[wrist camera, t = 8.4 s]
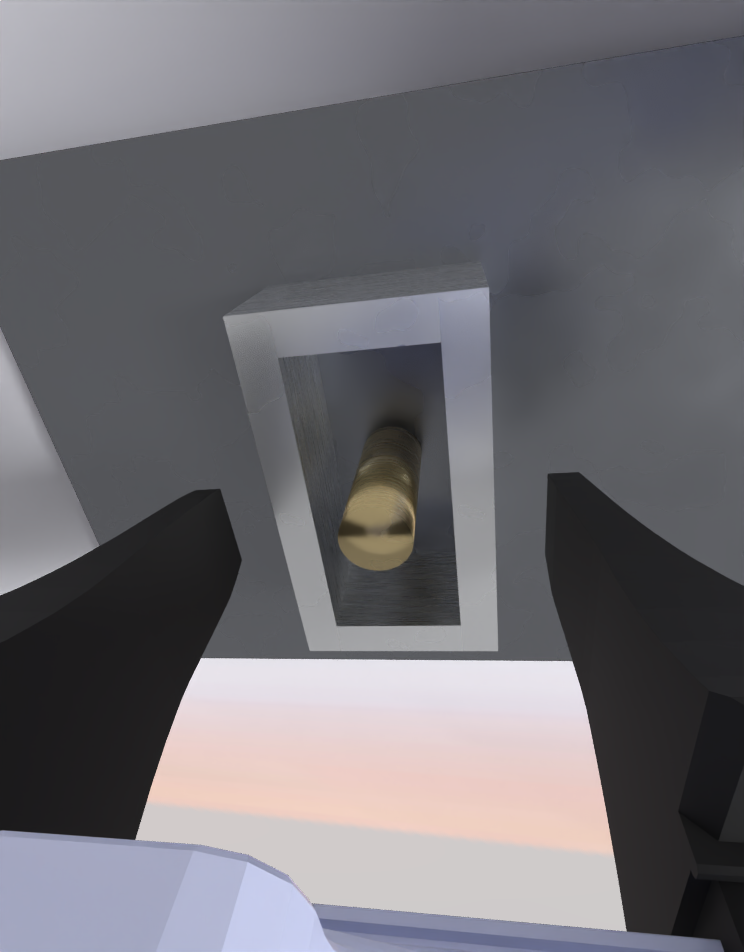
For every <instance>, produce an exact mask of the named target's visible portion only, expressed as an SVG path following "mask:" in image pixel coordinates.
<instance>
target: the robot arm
mask: <svg viewBox="0 0 744 952" xmlns="http://www.w3.org/2000/svg"><path fill="white" fill-rule="evenodd" d="M545 557H546V563H547V569H548V575H549V581H550V586H551V592H552V596H553V600H554V603H555V606H556V609H557V613H558V616H559V619H560V622H561V626H562V629H563V632H564V635H565V639H566V642H567V645H568V648H569V651H570V654H571V658H572V661H573V664H574V667H575V670H576V674H577V677H578V680H579V683H580V686H581V690H582V694H583V698H584V701H585V705H586V709H587V714H588V719H589V724H590V729H591V734H592V739H593V744H594V749H595V754H596V759H597V764H598V769H599V775H600V780H601V785H602V790H603V796H604V801H605V806H606V812H607V817H608V823H609V829H610V834H611V840H612V846H613V852H614V857H615V863H616V868H617V874H618V880H619V886H620V893H621V899H622V905H623V910H624V917H625V923H626V929H627V932H625V931H613V930H603V929H592V928H581V927H570V926H569V927H568V926H557V925H547V924H536V923H525V922H513V921H503V920H491V919H480V918H469V917H458V916H447V915H436V914H424V913H413V912H402V911H391V910H380V909H369V908H357V907H346V906H335V905H324V904H313V903H311V902H310V901H309V899H308V898H307V896H306V895H305V894H304V893H303V892H302V891H301V890H300V888H299V887H298V886H297V885H296V884H295V883H294V881H293V880H292V879H291V878H290V877H289V876H288V875H287V874H285V873H283V872H281V871H279V870H277V869H275V868H273V867H271V866H269V865H267V864H265V863H263V862H261V861H259V860H257V859H255V858H253V857H251V856H249V855H246V854H242V853H237V852H232V851H228V850H223V849H218V848H213V847H209V846H204V845H195V844H181V843H168V842H155V841H141V840H135V839H136V835H137V832H138V829H139V825H140V822H141V818H142V815H143V812H144V808H145V805H146V802H147V798H148V795H149V791H150V788H151V785H152V782H153V779H154V776H155V773H156V770H157V767H158V764H159V761H160V758H161V755H162V752H163V749H164V746H165V743H166V740H167V737H168V735H169V732H170V729H171V726H172V724H173V721H174V718H175V715H176V713H177V710H178V707H179V705H180V702H181V699H182V697H183V695H184V692H185V690H186V688H187V686H188V683H189V681H190V679H191V677H192V675H193V673H194V671H195V669H196V667H197V665H198V663H199V661H200V659H201V657H202V655H203V653H204V651H205V649H206V647H207V645H208V643H209V641H210V639H211V637H212V635H213V633H214V631H215V629H216V627H217V625H218V622H219V620H220V618H221V616H222V614H223V612H224V610H225V608H226V606H227V604H228V602H229V599H230V597H231V594H232V591H233V588H234V585H235V582H236V579H237V576H238V572H239V569H240V566H241V562H242V558H241V555H240V552H239V548H238V545H237V542H236V538H235V535H234V532H233V529H232V525H231V522H230V519H229V516H228V512H227V509H226V506H225V502H224V499H223V496H222V493H221V489H207V490H195V491H193V492H190V493H188V494H186V495H184V496H182V497H181V498H179V499H177V500H175V501H174V502H172V503H170V504H168V505H167V506H165V507H163V508H162V509H160V510H159V511H157V512H155V513H154V514H152V515H150V516H149V517H147V518H146V519H144V520H142V521H141V522H139V523H137V524H136V525H134V526H133V527H131V528H129V529H128V530H126V531H125V532H123V533H121V534H120V535H118V536H116V537H115V538H113V539H111V540H109V541H108V542H106V543H104V544H102V545H101V546H99V547H97V548H95V549H94V550H92V551H90V552H89V553H87V554H85V555H83V556H82V557H80V558H78V559H76V560H74V561H73V562H71V563H69V564H67V565H65V566H63V567H61V568H59V569H57V570H55V571H53V572H51V573H49V574H47V575H45V576H43V577H41V578H39V579H37V580H35V581H33V582H31V583H28V584H26V585H24V586H22V587H20V588H17V589H15V590H13V591H10V592H8V593H5V594H3V595H1V596H0V952H744V586H743V585H741V584H739V583H737V582H735V581H733V580H731V579H729V578H728V577H726V576H724V575H722V574H720V573H719V572H717V571H715V570H713V569H712V568H710V567H708V566H706V565H704V564H703V563H701V562H699V561H697V560H696V559H694V558H692V557H691V556H689V555H687V554H686V553H684V552H683V551H681V550H679V549H678V548H676V547H675V546H673V545H672V544H670V543H669V542H667V541H666V540H665V539H663V538H662V537H660V536H659V535H657V534H656V533H654V532H653V531H651V530H650V529H649V528H647V527H646V526H645V525H643V524H642V523H641V522H639V521H638V520H637V519H635V518H634V517H633V516H631V515H630V514H629V513H628V512H626V511H625V510H624V509H622V508H621V507H620V506H619V505H618V504H616V503H615V502H614V501H613V500H611V499H610V498H609V497H608V496H607V495H605V494H604V493H603V492H602V491H601V490H600V489H598V488H597V487H596V486H595V485H594V484H593V483H591V482H590V481H589V480H588V479H587V478H586V477H584V476H583V475H582V474H581V473H579V472H570V473H548V480H547V508H546V536H545Z"/></svg>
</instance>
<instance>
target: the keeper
mask: <svg viewBox="0 0 744 952" xmlns="http://www.w3.org/2000/svg"><path fill="white" fill-rule="evenodd" d="M477 261H480V262H481V265H482V268H483V271H484V274H485V277H486V280H487V283H488V286H489V308H490V347H491V386H492V426H493V465H494V505H495V544H496V583H497V623H498V651H310V650H309V646H308V642H307V639H306V635H305V631H304V627H303V623H302V619H301V615H300V612H299V608H298V604H297V600H296V596H295V592H294V589H293V585H292V581H291V577H290V573H289V569H288V565H287V562H286V558H285V554H284V550H283V546H282V542H281V538H280V535H279V531H278V527H277V523H276V519H275V515H274V512H273V508H272V504H271V500H270V496H269V492H268V488H267V485H266V481H265V477H264V473H263V469H262V465H261V462H260V458H259V454H258V450H257V446H256V442H255V438H254V435H253V431H252V427H251V423H250V419H249V415H248V411H247V408H246V404H245V400H244V396H243V392H242V388H241V385H240V381H239V377H238V373H237V369H236V365H235V361H234V358H233V354H232V350H231V346H230V342H229V338H228V335H227V331H226V327H225V323H224V319H223V316H224V315H226V314H227V313H229V312H230V311H232V310H233V309H235V308H236V307H238V306H239V305H241V304H242V303H244V302H245V301H247V300H248V299H250V298H251V297H253V296H254V295H256V294H257V293H259V292H260V291H262V290H263V289H265V288H266V287H268V286H275V285H283V284H292V283H300V282H309V281H317V280H326V279H334V278H342V277H351V276H359V275H368V274H376V273H384V272H393V271H401V270H410V269H418V268H427V267H435V266H443V265H452V264H460V263H469V262H477ZM0 327H1V329H2V331H3V333H4V336H5V338H6V340H7V342H8V344H9V347H10V349H11V351H12V353H13V356H14V358H15V360H16V362H17V364H18V367H19V369H20V371H21V373H22V375H23V378H24V380H25V382H26V384H27V386H28V389H29V391H30V393H31V395H32V397H33V400H34V402H35V404H36V406H37V408H38V411H39V413H40V415H41V417H42V419H43V422H44V424H45V426H46V428H47V430H48V433H49V435H50V437H51V439H52V441H53V444H54V446H55V448H56V450H57V452H58V455H59V457H60V459H61V461H62V463H63V466H64V468H65V470H66V472H67V474H68V477H69V479H70V481H71V483H72V485H73V488H74V490H75V492H76V494H77V496H78V499H79V501H80V503H81V505H82V507H83V510H84V512H85V514H86V516H87V518H88V521H89V523H90V525H91V527H92V529H93V532H94V534H95V536H96V538H97V541H98V543H99V545H100V546H101V545H102V544H104V543H106V542H108V541H109V540H111V539H113V538H115V537H116V536H118V535H120V534H121V533H123V532H125V531H126V530H128V529H129V528H131V527H133V526H134V525H136V524H137V523H139V522H141V521H142V520H144V519H146V518H147V517H149V516H150V515H152V514H154V513H155V512H157V511H159V510H160V509H162V508H163V507H165V506H167V505H168V504H170V503H172V502H174V501H175V500H177V499H179V498H181V497H182V496H184V495H186V494H188V493H190V492H193V491H195V490H207V489H221V493H222V496H223V499H224V502H225V506H226V509H227V512H228V516H229V519H230V522H231V525H232V529H233V532H234V535H235V538H236V542H237V545H238V548H239V552H240V555H241V558H242V562H241V566H240V569H239V572H238V576H237V579H236V582H235V585H234V588H233V591H232V594H231V597H230V599H229V602H228V604H227V606H226V608H225V610H224V612H223V614H222V616H221V618H220V620H219V622H218V625H217V627H216V629H215V631H214V633H213V635H212V637H211V639H210V641H209V643H208V645H207V647H206V649H205V651H204V653H203V655H202V657H201V658H260V659H385V660H510V661H572V658H571V654H570V651H569V648H568V645H567V642H566V639H565V635H564V632H563V629H562V626H561V622H560V619H559V616H558V613H557V609H556V606H555V603H554V600H553V596H552V592H551V586H550V581H549V575H548V569H547V563H546V557H545V536H546V508H547V480H548V473H570V472H579V473H581V474H582V475H583V476H584V477H586V478H587V479H588V480H589V481H590V482H591V483H593V484H594V485H595V486H596V487H597V488H598V489H600V490H601V491H602V492H603V493H604V494H605V495H607V496H608V497H609V498H610V499H611V500H613V501H614V502H615V503H616V504H618V505H619V506H620V507H621V508H622V509H624V510H625V511H626V512H628V513H629V514H630V515H631V516H633V517H634V518H635V519H637V520H638V521H639V522H641V523H642V524H643V525H645V526H646V527H647V528H649V529H650V530H651V531H653V532H654V533H656V534H657V535H659V536H660V537H662V538H663V539H665V540H666V541H667V542H669V543H670V544H672V545H673V546H675V547H676V548H678V549H679V550H681V551H683V552H684V553H686V554H687V555H689V556H691V557H692V558H694V559H696V560H697V561H699V562H701V563H703V564H704V565H706V566H708V567H710V568H712V569H713V570H715V571H717V572H719V573H720V574H722V575H724V576H726V577H728V578H729V579H731V580H733V581H735V582H737V583H739V584H741V585H743V586H744V36H739V37H733V38H727V39H721V40H715V41H709V42H703V43H697V44H691V45H685V46H679V47H673V48H667V49H661V50H655V51H649V52H643V53H637V54H631V55H625V56H620V57H614V58H608V59H602V60H596V61H590V62H584V63H578V64H572V65H566V66H560V67H554V68H548V69H542V70H536V71H530V72H524V73H518V74H512V75H506V76H500V77H494V78H488V79H482V80H476V81H470V82H464V83H458V84H452V85H446V86H441V87H435V88H429V89H423V90H417V91H411V92H405V93H399V94H393V95H387V96H381V97H375V98H369V99H363V100H357V101H351V102H345V103H339V104H333V105H327V106H321V107H315V108H309V109H303V110H297V111H291V112H285V113H279V114H273V115H267V116H262V117H256V118H250V119H244V120H238V121H232V122H226V123H220V124H214V125H208V126H202V127H196V128H190V129H184V130H178V131H172V132H166V133H160V134H154V135H148V136H142V137H136V138H130V139H124V140H118V141H112V142H106V143H100V144H94V145H88V146H83V147H77V148H71V149H65V150H59V151H53V152H47V153H41V154H35V155H29V156H23V157H17V158H11V159H5V160H0ZM317 356H318V362H319V367H320V373H321V378H322V383H323V389H324V394H325V400H326V405H327V411H328V416H329V422H330V427H331V433H332V438H333V444H334V449H335V455H336V460H337V465H338V471H339V476H340V482H341V487H342V493H343V498H344V504H345V511H344V514H343V517H342V521H341V524H340V527H339V531H338V543H339V547H340V549H341V551H342V552H343V554H344V555H345V556H346V557H347V558H348V559H349V560H350V561H351V562H352V563H354V564H356V565H357V566H360V567H362V568H365V569H368V570H374V571H383V570H389V569H393V568H395V567H398V566H399V565H401V564H402V563H404V562H405V561H406V560H407V559H408V557H409V556H410V554H411V553H441V552H456V549H455V535H454V520H453V506H452V492H451V477H450V463H449V449H448V434H447V420H446V406H445V391H444V377H443V363H442V348H441V342H440V343H430V344H419V345H409V346H398V347H387V348H377V349H366V350H356V351H345V352H335V353H324V354H317Z"/></svg>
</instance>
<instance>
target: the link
mask: <svg viewBox="0 0 744 952" xmlns="http://www.w3.org/2000/svg"><path fill="white" fill-rule="evenodd" d="M223 319H224V323H225V327H226V331H227V335H228V338H229V342H230V346H231V350H232V354H233V358H234V361H235V365H236V369H237V373H238V377H239V381H240V385H241V388H242V392H243V396H244V400H245V404H246V408H247V411H248V415H249V419H250V423H251V427H252V431H253V435H254V438H255V442H256V446H257V450H258V454H259V458H260V462H261V465H262V469H263V473H264V477H265V481H266V485H267V488H268V492H269V496H270V500H271V504H272V508H273V512H274V515H275V519H276V523H277V527H278V531H279V535H280V538H281V542H282V546H283V550H284V554H285V558H286V562H287V565H288V569H289V573H290V577H291V581H292V585H293V589H294V592H295V596H296V600H297V604H298V608H299V612H300V615H301V619H302V623H303V627H304V631H305V635H306V639H307V642H308V646H309V650H310V651H498V623H497V583H496V544H495V505H494V465H493V426H492V386H491V347H490V308H489V286H488V283H487V280H486V277H485V274H484V271H483V268H482V265H481V262H480V261H477V262H469V263H460V264H452V265H443V266H435V267H427V268H418V269H410V270H401V271H393V272H384V273H376V274H368V275H359V276H351V277H342V278H334V279H326V280H317V281H309V282H300V283H292V284H283V285H275V286H268V287H266V288H265V289H263V290H262V291H260V292H259V293H257V294H256V295H254V296H253V297H251V298H250V299H248V300H247V301H245V302H244V303H242V304H241V305H239V306H238V307H236V308H235V309H233V310H232V311H230V312H229V313H227V314H226V315H224V316H223ZM440 342H441V348H442V363H443V377H444V391H445V406H446V420H447V434H448V449H449V463H450V477H451V492H452V506H453V520H454V535H455V549H456V552H441V553H411V554H410V556H409V557H408V559H407V560H406V561H405V562H404V563H402V564H401V565H399V566H398V567H395V568H393V569H389V570H383V571H374V570H368V569H365V568H362V567H360V566H357V565H356V564H354V563H352V562H351V561H350V560H349V559H348V558H347V557H346V556H345V555H344V554H343V552H342V551H341V549H340V547H339V543H338V531H339V527H340V524H341V521H342V517H343V514H344V511H345V504H344V498H343V493H342V487H341V482H340V476H339V471H338V465H337V460H336V455H335V449H334V444H333V438H332V433H331V427H330V422H329V416H328V411H327V405H326V400H325V394H324V389H323V383H322V378H321V373H320V367H319V362H318V356H317V354H324V353H335V352H345V351H356V350H366V349H377V348H387V347H398V346H409V345H419V344H430V343H440Z"/></svg>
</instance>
